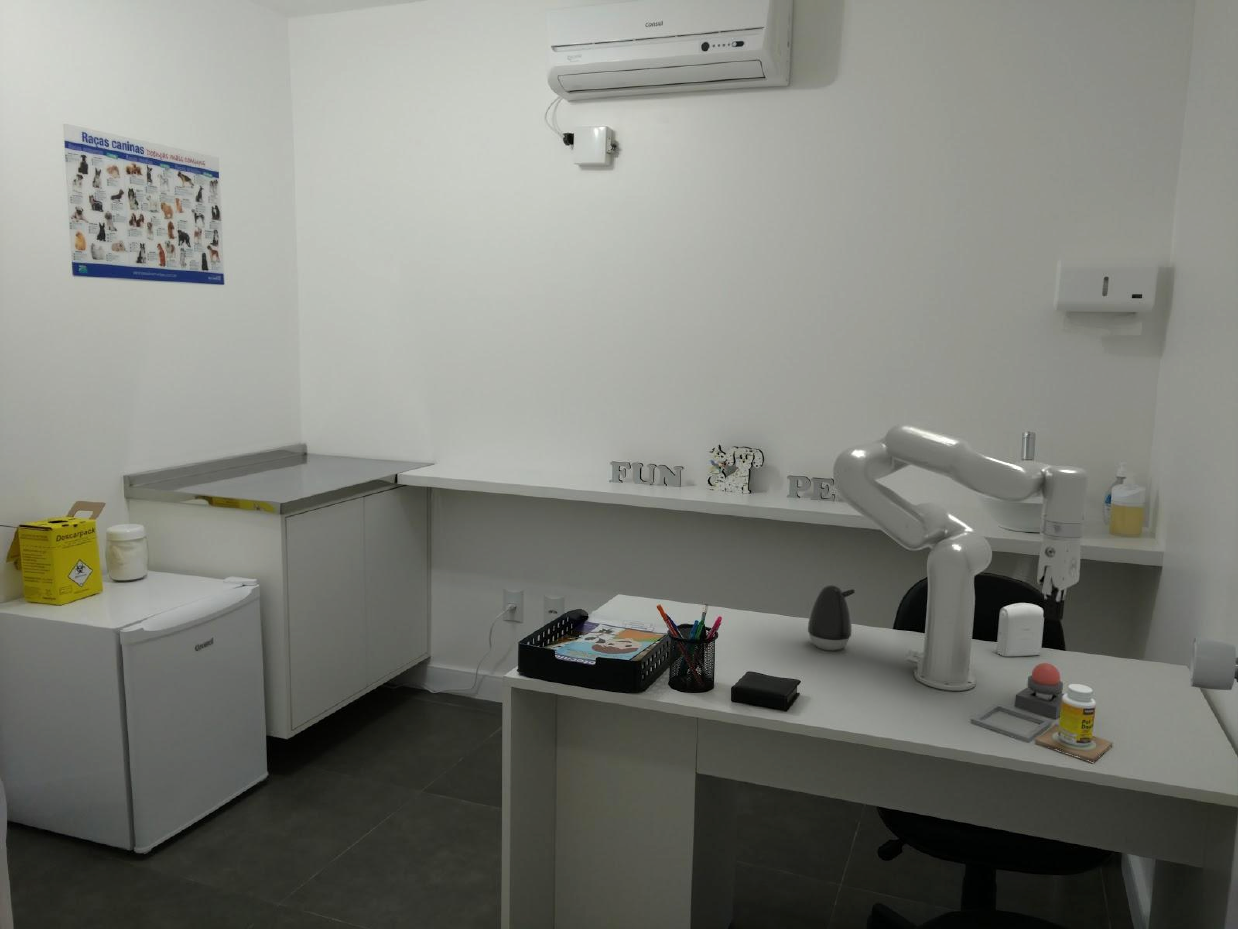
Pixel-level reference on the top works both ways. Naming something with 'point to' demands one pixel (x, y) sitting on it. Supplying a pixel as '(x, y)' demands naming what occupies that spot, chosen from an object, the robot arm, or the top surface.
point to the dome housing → (1039, 703)
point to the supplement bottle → (1077, 715)
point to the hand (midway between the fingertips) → (1052, 618)
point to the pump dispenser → (830, 619)
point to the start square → (1028, 737)
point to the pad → (1084, 752)
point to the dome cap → (1045, 681)
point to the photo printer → (1020, 630)
